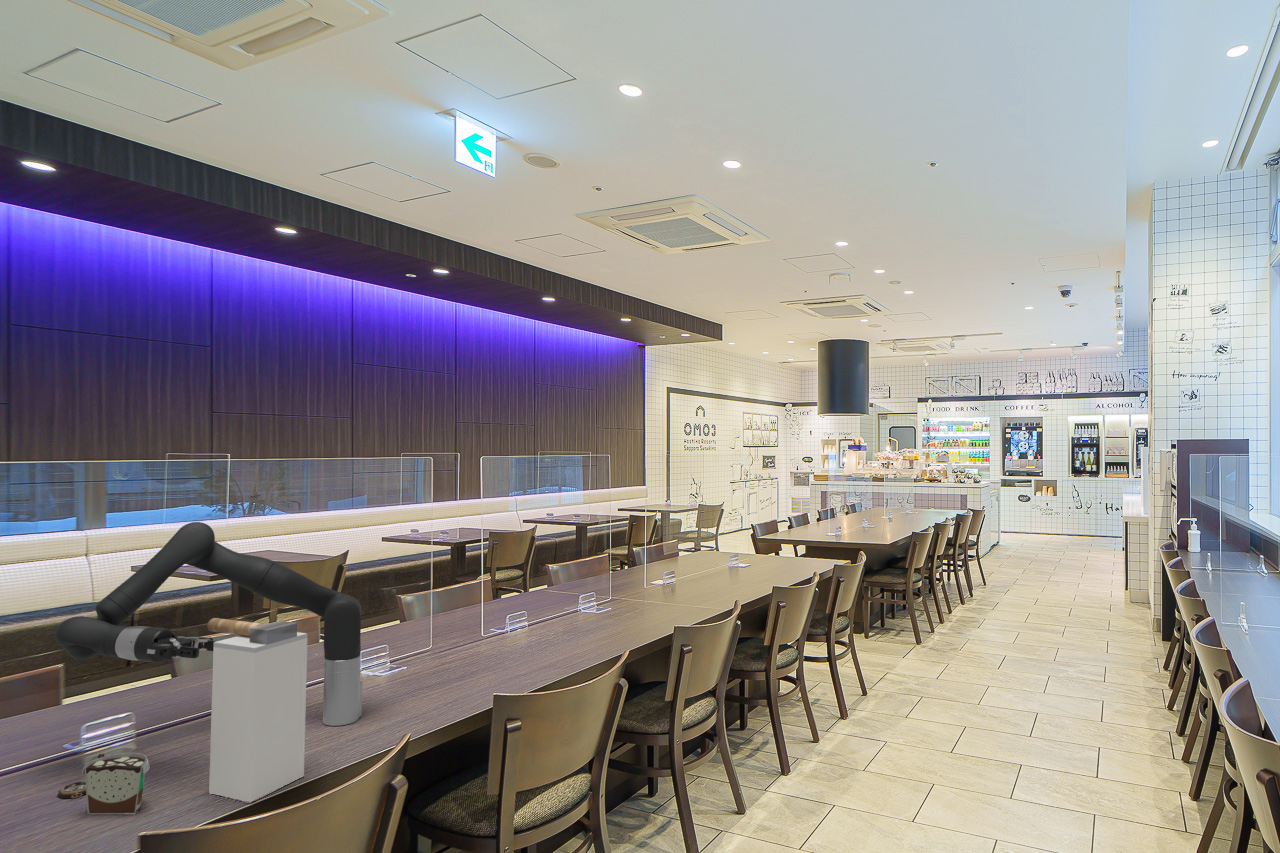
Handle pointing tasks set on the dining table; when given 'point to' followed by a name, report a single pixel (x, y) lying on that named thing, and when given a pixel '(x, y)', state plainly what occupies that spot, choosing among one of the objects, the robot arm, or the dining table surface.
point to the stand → (257, 716)
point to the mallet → (255, 630)
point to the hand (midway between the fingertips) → (210, 649)
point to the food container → (115, 783)
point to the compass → (75, 788)
